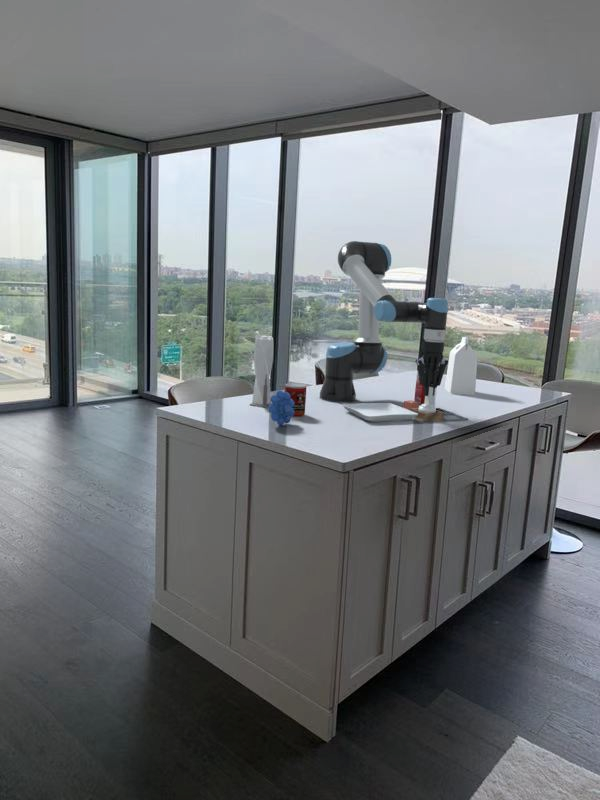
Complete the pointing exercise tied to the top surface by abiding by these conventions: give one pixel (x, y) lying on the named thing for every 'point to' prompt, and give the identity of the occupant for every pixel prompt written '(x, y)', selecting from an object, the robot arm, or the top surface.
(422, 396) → the soda can
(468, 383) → the milk
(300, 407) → the canned food
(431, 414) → the base
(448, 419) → the track
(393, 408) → the salad plate
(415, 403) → the die
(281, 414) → the grapes
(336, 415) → the top surface
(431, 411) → the dome
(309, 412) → the top surface
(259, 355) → the skyscraper
